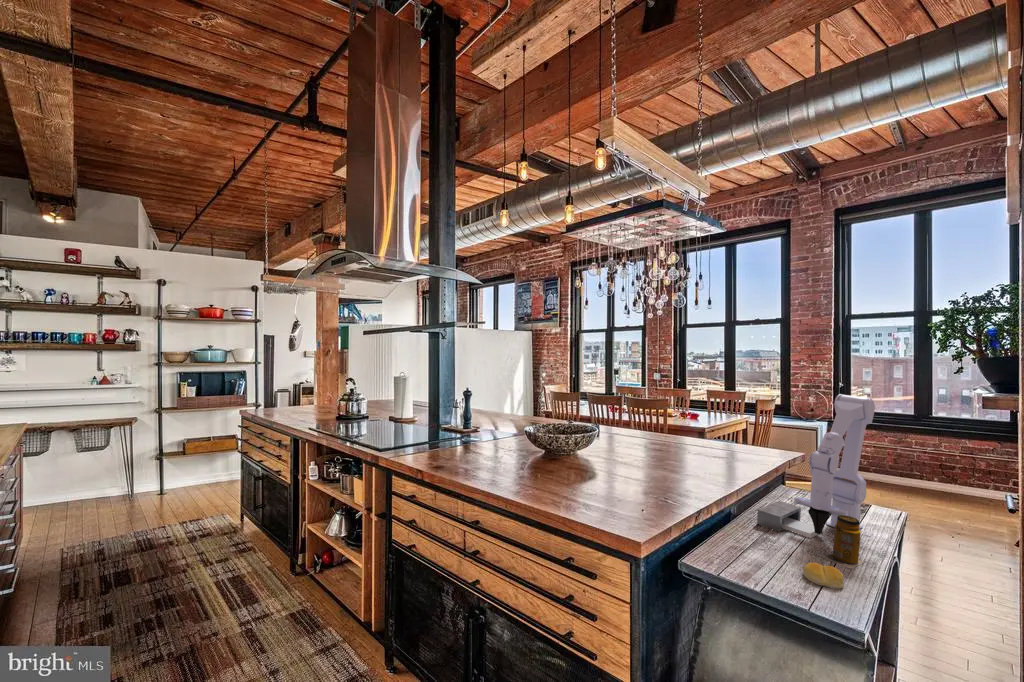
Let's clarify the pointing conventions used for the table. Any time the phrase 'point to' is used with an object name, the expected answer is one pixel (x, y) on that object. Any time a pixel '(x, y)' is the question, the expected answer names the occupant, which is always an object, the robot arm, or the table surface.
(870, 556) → the table surface
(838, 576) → the bread roll
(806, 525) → the tile
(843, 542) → the condiment
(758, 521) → the grey c-shaped bracket
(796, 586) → the table surface
